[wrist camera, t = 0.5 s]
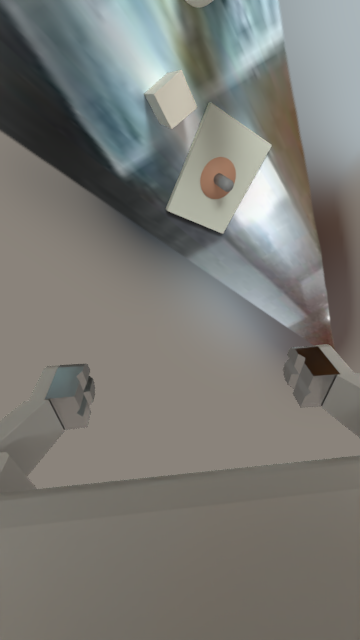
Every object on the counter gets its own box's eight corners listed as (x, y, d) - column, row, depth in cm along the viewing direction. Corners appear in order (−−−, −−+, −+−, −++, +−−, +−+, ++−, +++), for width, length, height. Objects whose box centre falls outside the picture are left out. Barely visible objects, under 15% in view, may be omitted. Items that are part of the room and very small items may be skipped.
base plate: (208, 102, 42) (223, 103, 37) (268, 144, 48) (287, 149, 44) (165, 208, 51) (173, 220, 46) (220, 231, 57) (232, 243, 53)
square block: (160, 124, 42) (171, 129, 36) (143, 93, 39) (153, 94, 33) (181, 105, 41) (197, 107, 35) (167, 72, 38) (181, 69, 32)
